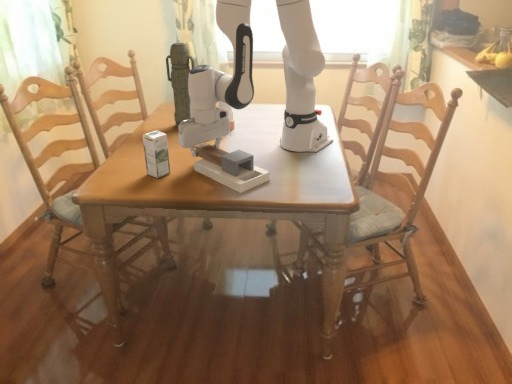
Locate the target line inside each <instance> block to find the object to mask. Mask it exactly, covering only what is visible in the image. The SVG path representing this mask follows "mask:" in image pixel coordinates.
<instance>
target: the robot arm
mask: <svg viewBox="0 0 512 384" xmlns="http://www.w3.org/2000/svg"><path fill="white" fill-rule="evenodd" d="M310 3H311V2H310V0H275V4H276V8H277V15H278V20H279V26H280V29H281V32H282V34H283V37H284V39H285V43H286V44H285V45H284V46H283V49H282V52H281V55H282V61H283V73H284V74H283V75H284V82H285V109H284V113H283V120H284V121H283V126H282V132H281V133H282V134H281V137H280V147H281V148H282V149H284V150H287V151H290V152H297V153H299V152H300V153H302V152H310V153H311V152H312V153H317V152H319V151H321V150H322V149H323V148H325V147H326V146H328V145H329V144H331V143H333V141H334V138H333V137H332V136H330V135H328V127H327V125H325V124H324V123H323V122H322V121H320V119H318V116H321V115H322V113H323V111H322V110H321V109H316V96H317V94H316V93H317V90H316V85H315V81H314V78H316V77H317V76H319V75H321V74H322V72H323V71H324V69H325V66H326V59H325V55H324V53H323V52H322V49H321V45H320V42H319V41H320V40H319V38H318V34H317V31H316V28H315V25H314V21H313V16H312V10H311V9H312V8H311V4H310ZM251 8H252V0H216V4H215V22H216V25H217V28H219V30H220V31H221V32H222V33H223V34H224V35H225V37H227V39H228V40H229V42H230V43H231V44H232V45H231V46H232V48H233V61H232V63H233V68H232V72H233V73H232V74H231V73H228V72H225V71H224V72H223V71H221V70H218V69H215V68H214V67H213V66H211V65H210V64H200V65H195V67H194V68H192V67H191V68H190V72H189V77H188V90H189V97H190V115H191V118H190V119H187V120H183V121H182V122H181V123H180V124H179V126H178V128H177V129H178V137H177V138H178V145H179V147H181V148H184V149H189V150H190V151H191V156H192V157H193V158H197V157H199V156H198V152H197V151H196V148H195V146H197V145H200V144H204V143H207V142H208V143H209V142H210V141H213V140H215V142H214V144H212V146H214V147H216V148H219V149H220V144H221V142H222V138H223V137H226V136H229V134H230V133H231V130H230V123H229V119H228V111H226V110H224V109H220V108H219V107H217V103H219V101H221V102H223V103H226V104H228V105H229V106H231V107H232V108H233V110H234V109H235V110H242V109H244V108H246V107H248V106H249V105H250V104H251V102H252V100H253V99H254V95H255V87H254V86H255V85H254V81H253V61H254V59H253V57H254V56H253V55H254V35H253V34H254V33H253V31H252V27H251V11H252V9H251ZM317 115H318V116H317Z"/></svg>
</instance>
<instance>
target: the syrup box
mask: <svg viewBox="0 0 512 384" xmlns="http://www.w3.org/2000/svg"><path fill="white" fill-rule="evenodd" d="M168 144H169V143H168V135H167V134H166V133H165V132H162V131H160V130H153V131H150V132H147V133H144V134H142V145H143V151H144V160H145V168H146V174H147V175H148V176H151V177H153V178H157V179H159V178H162V177H165V176H167V175H169V174H170V173H171V168H170V166H171V165H170V156H169V145H168Z"/></svg>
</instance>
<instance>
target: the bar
mask: <svg viewBox="0 0 512 384" xmlns="http://www.w3.org/2000/svg"><path fill="white" fill-rule="evenodd" d="M194 149H195V151H197V152H198V156H197V157H199V158H201V159H205V160H207V161H209V162H212V163H214V164H216V165H218V166H220V167H221V156H222V155H225V154H228V153H229V152H228V151H225V150H223V149H221V148H220V147H219V148H216V147H214V146H213V144H212V145H211V144H209V143H207V142H205V143H201V144H198V145H195V148H194Z"/></svg>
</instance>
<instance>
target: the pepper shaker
mask: <svg viewBox="0 0 512 384" xmlns="http://www.w3.org/2000/svg"><path fill="white" fill-rule="evenodd" d="M218 108H220V109H224V110H226V111H228V119H229V123H230V131H233V130H234V129H235V119H234V108H233V107H231V106H229V105H228V104H226V103H223V102H221V101H218Z"/></svg>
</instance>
